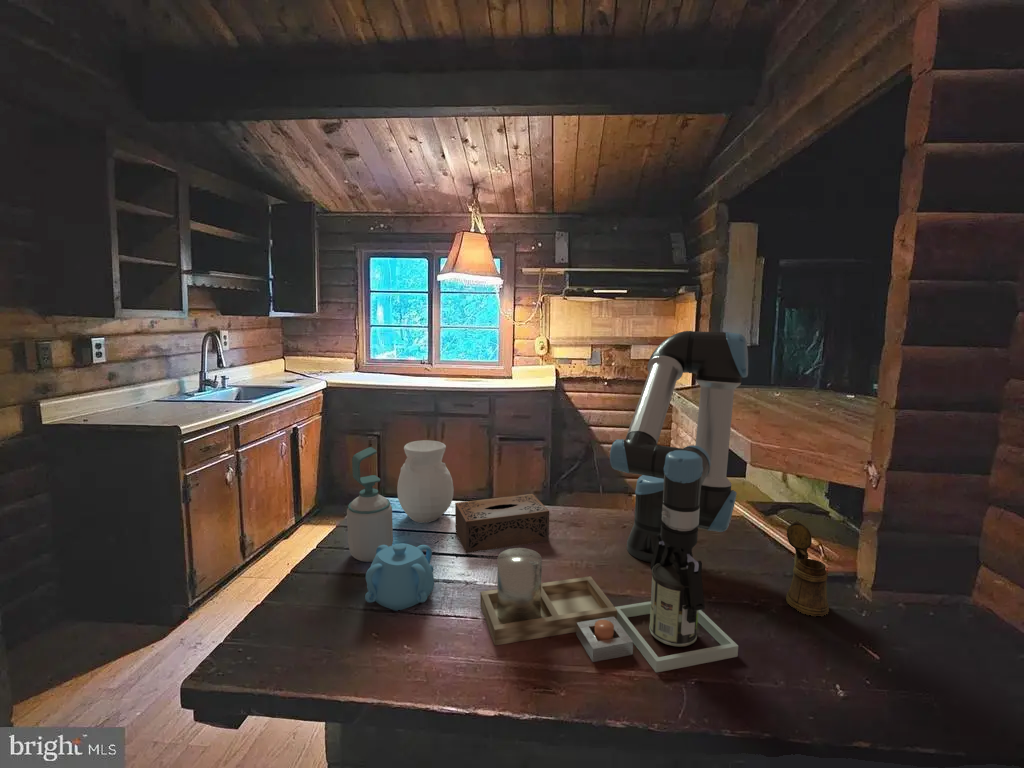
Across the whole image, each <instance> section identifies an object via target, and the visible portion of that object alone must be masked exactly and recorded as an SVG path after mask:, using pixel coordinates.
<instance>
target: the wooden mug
mask: <svg viewBox="0 0 1024 768" xmlns="http://www.w3.org/2000/svg"><path fill="white" fill-rule="evenodd" d="M786 538H787V541H788V543H789V546H791V547H792V548H794V550H795V553H794V559H793V561H794V565H793V568H792V572H793V575H792V580H791V582H790V586H789V589H788V591H787V593H786V596H785V599H786V603H787V604H789V605H790V606H791V607H793V608H795V609H796V610H797V611H796V610H795V611H796V612H798V611H799V612H798V613H800V612H801V613H800V614H803V615H805V614H806V616H809V615H811V616H810V617H816V616H821V617H825V616H827V615H828V614H829V613H828V612H830V609H829V603H828V590H827V580H828V571H827V570H826V569H827V568H826V567H827V566H826V565H825V564H824V562H822V561H820V560H816V559H814V558H809V553H808V552H809V551H808V549H809V548H810V547H811V545H812V543H813V542H812V540H813V539H812V534H811V532H810V530H809V529H808V528H807V527H806V526H805V525H804V524H803V523H801V522H799V521H797V520H796V521H793V523H791V524H790V525H789V526H788V527H787V529H786ZM789 605H788V606H789ZM790 606H789V607H790ZM791 607H790V608H791ZM793 608H792V609H793ZM826 614H827V615H826ZM824 615H825V616H824Z"/></svg>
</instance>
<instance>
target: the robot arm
mask: <svg viewBox="0 0 1024 768" xmlns="http://www.w3.org/2000/svg"><path fill="white" fill-rule="evenodd" d="M646 370H647V372H648V374H647V377H646V380H645V382H644V386H643V388H642V391H641V394H640V397H639V399H638V403H637V405H636V408H635V411H634V414H633V416H632V419H631V422H630V425H629V426H628V427H629V428H628V430H627V433H626V435H625V438H621V439H618V438H617V439H615V440H614V441H613V442H612V445H611V447H610V451H609V463H610V467H611V468H612V469H613V470H615V471H619V472H623V473H627V474H634V475H639V477H638V478H637V480H636V485H635V491H634V494H635V497H634V498H635V500H634V520H633V521H634V522H633V525H632V528H631V530H630V533H629V535H628V538H627V541H626V549H627V552H628V553H629V554H630V555H631V556H632V557H634V558H635V559H638V560H640V561H643V562H646V563H650V566H649V567H650V570H651V571H652V568H653V567H654V566H655V565H656V564H658V563H660V564H661V566H662V567H663V566H670V565H672V564H674V566H675V569H676V573H677V574H679V577H680V582H681V584H682V585H683V586H684V587H685V588H684V600H685V605H683V609H682V624H681V634H682V635H688V634H694V629H695V622H696V614H697V610H701V611H704V610H705V609H706V608H705V607H706V606H705V597H704V596H705V595H704V589H703V578H702V577H703V575H702V568H703V563H702V561H701V560H696V559H694V554H693V548H694V547H695V546H696V545H697V543H698V537H699V529H702V530H706V531H712V532H719V533H722V532H725V531H727V530H728V528H729V526H730V522H731V518H732V515H733V511H734V508H735V504H736V499H737V496H738V495H737V494H738V493H737V492H736V491H735V489H732V482H731V481H730V479H728V477H727V470H728V461H729V448H730V440H731V429H732V428H731V427H732V419H733V417H732V416H733V407H734V397H735V391H736V390H735V389H737V388H738V387H739V386H740V385H741V384H742V378H743V379H744V378H748V375H749V350H748V343H747V338H746V337H745V335H743V334H741V333H737V332H728V331H720V332H719V331H693V330H685V331H681V332H677V333H674V334H672V335H671V336H669V337H667V338H666V339H664V340H663V341H662V342H661V343H660V344H659V345H658V346H657V347H656V348H655V349H654V350H653V352H652V354H651V355H650V357H649V360H648V362H647V369H646ZM686 373H688V374H694V375H695V382H696V383H697V384H698V385H699V387H700V388H699V389H700V391H699V403H698V413H697V422H696V423H697V424H696V433H695V434H696V435H695V436H696V437H695V444H693V445H687V446H684V447H683V448H681V447H675V446H674V447H673V446H667V445H660V444H658V442H659V440H660V439H659V438H660V436H661V432H662V430H663V427H664V423H665V420H666V417H667V413H668V410H669V406H670V403H671V400H672V396H673V394H674V390H675V387H676V383H677V381H679V380H680V379H681V378H682V377H683V374H686ZM686 566H687V569H683V570H681V568H684V567H686ZM686 586H689V588H686Z"/></svg>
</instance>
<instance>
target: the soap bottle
mask: <svg viewBox="0 0 1024 768" xmlns="http://www.w3.org/2000/svg"><path fill="white" fill-rule="evenodd" d="M377 453H378V451H377V449H375V448H374V447H371V446H370V447H367V448H365V449H362V450H361V451H358V452H357V453H355V454H353V456H352V459H351V464H352V465H351V466H352V467H351V470H352V478H353V479H354V480H355V481H356V482H357V483H359V484H360V485H361V486H362V487H364V488H363V489H361V490H360V491H359V496H357V497H356V498H354V499H353V500H352V501H351V502H349V504H348V505H347V508H346V523H347V528H346V529H347V544H348V549H349V552H350V554H351V556H352V558H354V559H356V560H358V561H360V562H364V563H365V562H366V563H367V562H368V563H369V562H370V563H372V562H373V560H374V558H375V556H376V549H377V548H378V547H379V546H380V545H387V546H388V547H389V546H392V545H394V536H393V535H394V534H393V533H394V530H393V528H394V526H393V524H394V523H393V507H392V505H391V501H390V499H388V498H387V497H385V496H383V495H381V494H379V489H377V488H374V486H375V485H376V484H377V483H380V482H381V478H380V477H378V476H377V475H376V474H374V475H373V474H372V475H367V476H361V468H360V467H361V463H362V461H364V460H365V459H367V458H369V457H371V456H373V455H375V454H377Z"/></svg>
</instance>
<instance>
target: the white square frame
mask: <svg viewBox="0 0 1024 768" xmlns="http://www.w3.org/2000/svg"><path fill="white" fill-rule="evenodd" d="M614 607H615V608H616V609H617V621H618V622H619V624H620V625H621V626H622V628H623V629H624V630H625V632H626V633H627V634H628V636H629V637H630V638H631V640H632V641H633V645H634V646H635V647H636V648H637V650H638V651H639V652H640V654H641V655H642V656H643V658H644V659H645V661H647V663H648V664H649V666H650V667H651V668H652V670H653V671H654V672H655V673H662V672H666V671H671V670H676V669H681V668H687V667H692V666H697V665H701V664H706V663H707V664H708V663H713V662H718V661H722V660H727V659H732V658H737V657H738V653H739V645H738V644H737V643H736V642H735V641H734V640H733V639H732V638H731V637H730V636H729V635H728V634H727V633H726V632H725V631H723V630H722V628H720V627H719V626H718V625H717V624H716V623H715V622H714V621H713V620H712V619H711V618H710V617H709V616H708V615H707V614H706V613H705V612H704V611H703V610H698V624H700V626H701V627H702V628H703V629H704V630H705V632H707V633H708V634H709V635H710V636H711V637H712V638H713V639H714V640H715V641H716V642H717V643H719V645H717V646H712V647H706V648H700V649H695V650H690V651H685V652H680V653H674V654H670V655H665V656H663V655H662V656H658V655H657V654H656V652H655V651H654V650H653V648H652V647H651V646H650V645H649V643H648V642H647V641H646V640H645V638H644V637H643V636H642V635H641V634H640V631H638V629H637V628H636V627H635V626H634V624H633V623H632V622H631V621H630V620H629V618H632V617H637V616H643V615H644V616H645V615H650V611H651V600H650V601H644V602H638V603H632V604H631V603H630V604H624V605H619V606H614Z"/></svg>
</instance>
